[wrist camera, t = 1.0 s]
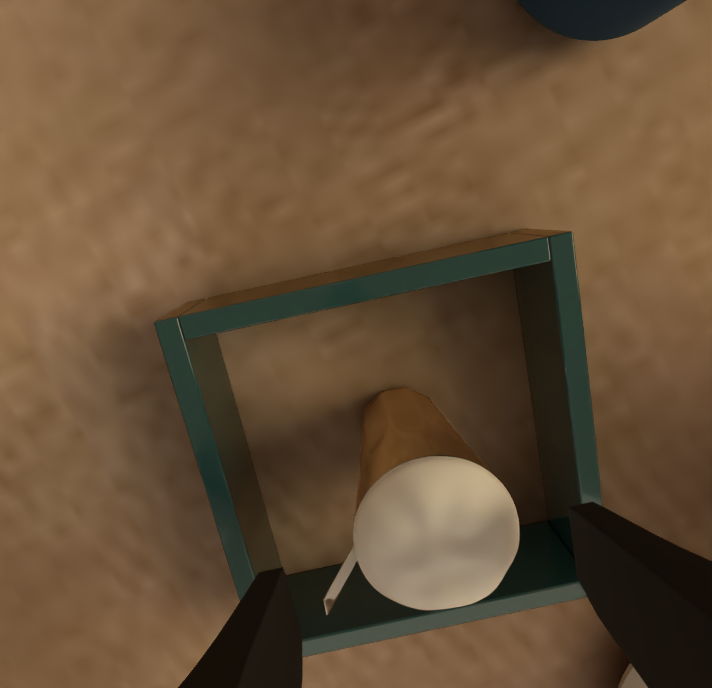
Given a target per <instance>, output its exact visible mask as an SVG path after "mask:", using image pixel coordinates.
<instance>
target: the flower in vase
mask: <svg viewBox="0 0 712 688" xmlns="http://www.w3.org/2000/svg"><path fill="white" fill-rule="evenodd" d="M618 688H648V687H647V686H646V684H645V683H644V681H643V680H642V679H641V677H640V676H639V674H638V673H637V671H636V670H635V669H634V667H633V666H632V664H631V663H630V664H629V665H628V667H627V669H626V670H625V672H624V674H623V676H622V678H621V680H620V683H619V685H618Z"/></svg>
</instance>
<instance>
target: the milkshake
mask: <svg viewBox="0 0 712 688" xmlns="http://www.w3.org/2000/svg"><path fill="white" fill-rule="evenodd" d="M353 544H354V545H353V547H352V549H351V550H350V552H349V554H348V556H347V557H346V559H345V561H344V563H343V565H342V566H341V568H340V570H339V572H338V573H337V575H336V577H335V579H334V581H333V582H332V584H331V586H330V588H329V589H328V591H327V593H326V595H325V597H324V599H323V606H324V610H325V614H326V615H328V614H329V612H330V610H331V608H332V606H333V605H334V603H335V601H336V599H337V597H338V595H339V593H340V591H341V590H342V588H343V586H344V584H345V582H346V580H347V578H348V577H349V575H350V573H351V571H352V569H353V567H354V565H355V563H356V562H357V561H358V563H359V566H360V568H361V570H362V572H363V574H364V575H365V577H366V579H367V580H368V581H369V583H370V584H371V585H372V586H373V587H374V588H375V589H376V590H377V591H378V592H380V593H381V594H382V595H384V596H386V597H387V598H389V599H391V600H393V601H395V602H397V603H400V604H402V605H405V606H407V607H411V608H415V609H420V610H440V609H448V608H455V607H461V606H465V605H469V604H472V603H475V602H477V601H479V600H481V599H483V598H485V597H486V596H488V595H489V594H491V593H492V592H493V591H494V590H495V589H496V588H497V587H498V585H499V584H500V582H501V581H502V579H503V577H504V575H505V574H506V572H507V570H508V569H509V567H510V565H511V564H512V562H513V560H514V558H515V556H516V553H517V550H518V546H519V519H518V514H517V510H516V507H515V504H514V502H513V500H512V498H511V496H510V494H509V492H508V491H507V489H506V488H505V486H504V485H503V484H502V483H501V482H500V481H499V479H498V478H497V477H496V476H495V475H494V474H493V473H492V472H491V471H490V469H489V468H488V467H487V466H486V465H485V464H484V463H483V462H482V461H481V460H480V458H479V457H478V456H477V455H476V454H475V453H474V452H473V451H472V450H471V448H470V447H469V446H468V445H467V444H466V443H465V442H464V440H463V439H462V438H461V437H460V435H459V434H458V433H457V432H456V430H455V429H454V428H453V427H452V425H451V424H450V423H449V422H448V420H447V419H446V418H445V417H444V415H443V414H442V413H441V412H440V411H439V409H438V408H437V407H436V406H435V404H434V403H433V402H432V401H431V399H430V398H429V397H427V396H425V395H423V394H421V393H419V392H416V391H414V390H412V389H410V388H408V387H403V388H398V389H392V390H387V391H382V392H381V393H380V394H379V395H378V396H377V397H376V398H375V399H374V400H373V401H372V402H371V403H370V404H369V405H368V406H367V407H366V408H365V411H364V418H363V425H362V431H361V451H360V475H359V483H358V490H357V499H356V509H355V518H354V526H353Z"/></svg>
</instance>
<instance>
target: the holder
mask: <svg viewBox="0 0 712 688" xmlns="http://www.w3.org/2000/svg"><path fill="white" fill-rule="evenodd" d="M512 269H514V276H515V283H516V290H517V298H518V305H519V312H520V319H521V327H522V334H523V341H524V348H525V356H526V363H527V370H528V377H529V384H530V392H531V399H532V406H533V413H534V421H535V428H536V435H537V442H538V450H539V457H540V464H541V471H542V479H543V486H544V493H545V500H546V508H547V515H548V521H542V522H538V523H533V524H528V525H523V526H519V546H518V550H517V553H516V556H515V558H514V560H513V562H512V564H511V565H510V567H509V569H508V570H507V572H506V574H505V575H504V577H503V579H502V581H501V582H500V584H499V585H498V587H497V588H496V589H495V590H494V591H493V592H492V593H491V594H489V595H488V596H486V597H485V598H483V599H481V600H479V601H477V602H475V603H472V604H469V605H465V606H461V607H455V608H448V609H440V610H420V609H415V608H411V607H407V606H405V605H402V604H400V603H397V602H395V601H393V600H391V599H389V598H387V597H386V596H384V595H382V594H381V593H380V592H378V591H377V590H376V589H375V588H374V587H373V586H372V585H371V584H370V583H369V581H368V580H367V579H366V577H365V575H364V574H363V572H362V570H361V568H360V566H359V563H358V561H357V562H356V563H355V565H354V567H353V569H352V571H351V573H350V575H349V577H348V578H347V580H346V582H345V584H344V586H343V588H342V590H341V591H340V593H339V595H338V597H337V599H336V601H335V603H334V605H333V606H332V608H331V610H330V612H329V614H328V615H326V614H325V610H324V606H323V599H324V597H325V595H326V593H327V591H328V589H329V588H330V586H331V584H332V582H333V581H334V579H335V577H336V575H337V573H338V572H339V570H340V568H341V566H342V565H343V564H340V565H335V566H331V567H326V568H321V569H317V570H312V571H307V572H302V573H298V574H293V575H288V576H286V580H287V583H288V587H289V590H290V594H291V597H292V601H293V604H294V608H295V611H296V615H297V619H298V622H299V626H300V629H301V633H302V657H307V656H311V655H316V654H321V653H326V652H330V651H335V650H340V649H344V648H349V647H354V646H359V645H363V644H368V643H373V642H378V641H382V640H387V639H392V638H396V637H401V636H406V635H411V634H415V633H420V632H425V631H430V630H434V629H439V628H444V627H448V626H453V625H458V624H463V623H467V622H472V621H477V620H482V619H486V618H491V617H496V616H500V615H505V614H510V613H515V612H519V611H524V610H529V609H534V608H538V607H543V606H548V605H552V604H557V603H562V602H567V601H571V600H576V599H581V598H586V597H587V595H586V593H585V591H584V589H583V588H582V586H581V584H580V582H579V580H578V578H577V573H576V565H575V557H574V549H573V541H572V533H571V525H570V517H569V509H568V507H569V506H574V505H579V504H583V503H588V502H595V503H597V504H599V505H601V506H603V503H602V494H601V485H600V476H599V467H598V458H597V448H596V439H595V430H594V421H593V412H592V403H591V394H590V384H589V375H588V366H587V357H586V348H585V339H584V329H583V320H582V311H581V302H580V293H579V284H578V275H577V265H576V256H575V247H574V238H573V232H571V231H557V230H540V229H523V230H519V231H514V232H510V233H505V234H500V235H495V236H491V237H486V238H482V239H477V240H472V241H468V242H463V243H458V244H454V245H449V246H445V247H440V248H435V249H431V250H426V251H422V252H417V253H412V254H408V255H403V256H399V257H394V258H389V259H385V260H380V261H375V262H371V263H366V264H362V265H357V266H352V267H348V268H343V269H339V270H334V271H329V272H325V273H320V274H315V275H311V276H306V277H302V278H297V279H292V280H288V281H283V282H279V283H274V284H269V285H265V286H260V287H255V288H251V289H246V290H242V291H237V292H232V293H228V294H223V295H219V296H214V297H209V298H207V299H200V300H196V301H191V302H187V303H186V304H184V305H182V306H180V307H179V308H177V309H175V310H174V311H172V312H170V313H169V314H167V315H165V316H163V317H162V318H160V319H158V320H157V321H155V322H154V325H155V328H156V332H157V335H158V338H159V341H160V345H161V348H162V351H163V354H164V357H165V361H166V364H167V367H168V370H169V374H170V377H171V380H172V383H173V387H174V390H175V393H176V396H177V399H178V403H179V406H180V409H181V412H182V416H183V419H184V422H185V425H186V428H187V432H188V435H189V438H190V441H191V445H192V448H193V451H194V454H195V458H196V461H197V464H198V467H199V470H200V474H201V477H202V480H203V483H204V487H205V490H206V493H207V496H208V499H209V503H210V506H211V509H212V512H213V516H214V519H215V522H216V525H217V529H218V532H219V535H220V538H221V541H222V545H223V548H224V551H225V554H226V558H227V561H228V564H229V567H230V570H231V574H232V577H233V580H234V583H235V587H236V590H237V593H238V596H239V600H240V601H241V599H242V598H243V596H244V595H245V593H246V591H247V590H248V588H249V587H250V585H251V584H252V582H253V581H254V579H255V577H256V576H257V575H258V573H259V572H262V571H267V570H272V569H276V568H281V567H282V565H281V562H280V558H279V555H278V551H277V548H276V544H275V541H274V537H273V534H272V530H271V526H270V523H269V519H268V516H267V512H266V509H265V505H264V502H263V498H262V495H261V491H260V487H259V484H258V480H257V477H256V473H255V470H254V466H253V463H252V459H251V456H250V452H249V448H248V445H247V441H246V438H245V434H244V431H243V427H242V424H241V420H240V417H239V413H238V409H237V406H236V402H235V399H234V395H233V392H232V388H231V385H230V381H229V378H228V374H227V370H226V367H225V363H224V360H223V356H222V353H221V349H220V346H219V342H218V339H217V335H216V333H221V332H225V331H230V330H235V329H239V328H244V327H249V326H253V325H258V324H262V323H267V322H272V321H276V320H281V319H286V318H290V317H295V316H299V315H304V314H309V313H313V312H318V311H323V310H327V309H332V308H336V307H341V306H346V305H350V304H355V303H360V302H364V301H369V300H373V299H378V298H383V297H387V296H392V295H397V294H401V293H406V292H410V291H415V290H420V289H424V288H429V287H434V286H438V285H443V284H447V283H452V282H457V281H461V280H466V279H471V278H475V277H480V276H484V275H489V274H494V273H498V272H503V271H508V270H512Z"/></svg>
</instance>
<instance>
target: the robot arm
mask: <svg viewBox="0 0 712 688" xmlns="http://www.w3.org/2000/svg"><path fill="white" fill-rule="evenodd" d="M568 509H569V517H570V525H571V533H572V541H573V549H574V557H575V565H576V573H577V578H578V580H579V582H580V584H581V586H582V588H583V589H584V591H585V593H586V595H587V597H588V599H589V601H590V603H591V604H592V606H593V608H594V610H595V612H596V614H597V615H598V617H599V618H600V620H601V621H602V623H603V624H604V626H605V627H606V629H607V630H608V631H609V633H610V634H611V636H612V637H613V639H614V640H615V642H616V643H617V644H618V646H619V647H620V649H621V650H622V652H623V653H624V654H625V656H626V657H627V659H628V660H629V662H630V663H631V664H632V666H633V667H634V669H635V670H636V671H637V673H638V674H639V676H640V677H641V679H642V680H643V681H644V683H645V684H646V686H647V687H648V688H712V561H710V560H708V559H705V558H703V557H701V556H699V555H697V554H694V553H692V552H690V551H688V550H686V549H683V548H681V547H679V546H677V545H675V544H673V543H671V542H669V541H667V540H665V539H663V538H661V537H659V536H657V535H655V534H653V533H651V532H649V531H647V530H645V529H644V528H642V527H640V526H638V525H636V524H634V523H632V522H630V521H629V520H627V519H625V518H623V517H621V516H619V515H617V514H616V513H614V512H612V511H610V510H608V509H606V508H604V507H603V506H601V505H599V504H597V503H595V502H588V503H583V504H579V505H574V506H569V507H568ZM301 687H302V633H301V629H300V626H299V622H298V619H297V615H296V611H295V608H294V604H293V601H292V597H291V594H290V590H289V587H288V583H287V580H286V576H285V572H284V569H283V567H281V568H276V569H272V570H267V571H262V572H259V573H258V575H257V576H256V577H255V579H254V581H253V582H252V584H251V585H250V587H249V588H248V590H247V591H246V593H245V595H244V596H243V598H242V599H241V601H240V603H239V604H238V606H237V607H236V609H235V610H234V612H233V613H232V615H231V617H230V618H229V620H228V621H227V622H226V624H225V625H224V627H223V628H222V630H221V631H220V633H219V634H218V636H217V637H216V639H215V640H214V642H213V643H212V644H211V646H210V647H209V649H208V650H207V651H206V653H205V654H204V655H203V657H202V658H201V659H200V661H199V662H198V663H197V665H196V666H195V667H194V669H193V670H192V671H191V672H190V674H189V675H188V676H187V677H186V679H185V680H184V681H183V682H182V683H181V685H180V686H179V687H178V688H301Z"/></svg>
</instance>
